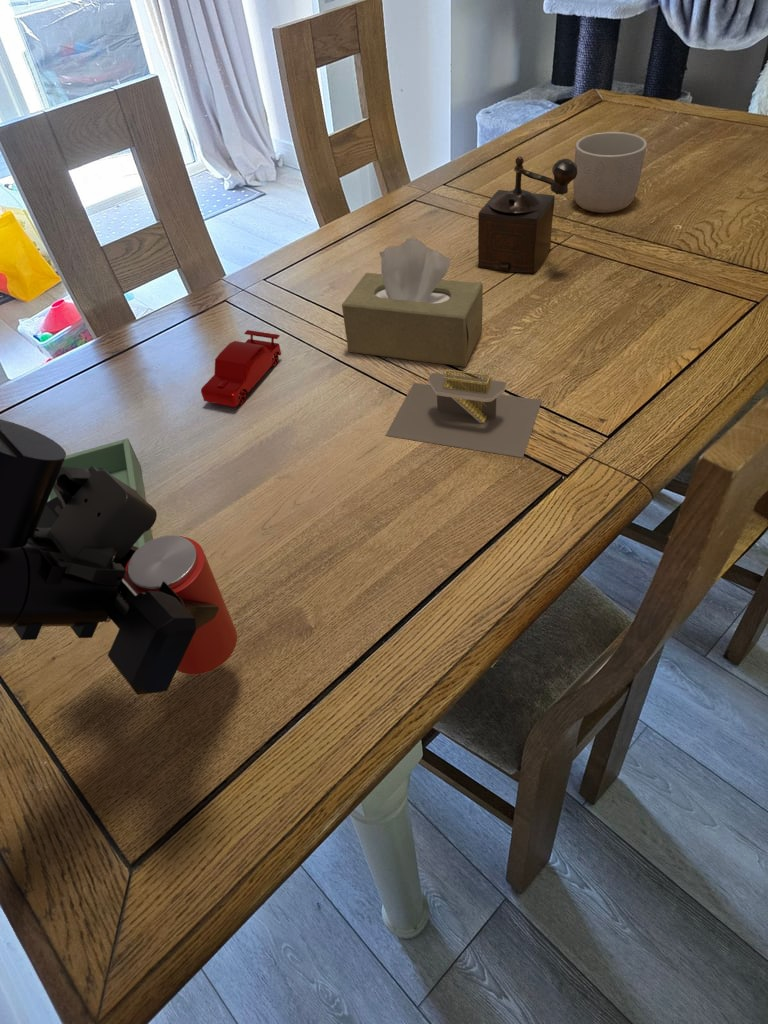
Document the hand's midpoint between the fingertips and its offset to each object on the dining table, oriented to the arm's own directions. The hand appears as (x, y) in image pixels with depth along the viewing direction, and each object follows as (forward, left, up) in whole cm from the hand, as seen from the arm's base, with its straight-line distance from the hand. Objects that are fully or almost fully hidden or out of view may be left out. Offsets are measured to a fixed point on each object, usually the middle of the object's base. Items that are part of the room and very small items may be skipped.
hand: (194, 589), depth 59 cm
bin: (-10, +25, -12) cm, 30 cm away
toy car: (+12, +48, -13) cm, 51 cm away
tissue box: (+38, +46, -13) cm, 61 cm away
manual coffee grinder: (+65, +61, -13) cm, 90 cm away
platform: (+37, +26, -13) cm, 47 cm away
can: (-1, -1, -7) cm, 7 cm away
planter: (+88, +74, -13) cm, 115 cm away
